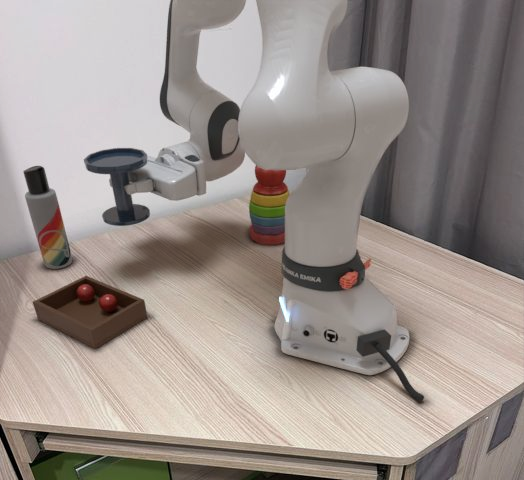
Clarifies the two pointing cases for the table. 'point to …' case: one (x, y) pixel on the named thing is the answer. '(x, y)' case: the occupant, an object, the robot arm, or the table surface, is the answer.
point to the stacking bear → (268, 206)
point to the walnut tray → (89, 312)
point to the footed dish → (120, 182)
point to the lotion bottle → (47, 219)
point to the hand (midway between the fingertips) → (118, 186)
